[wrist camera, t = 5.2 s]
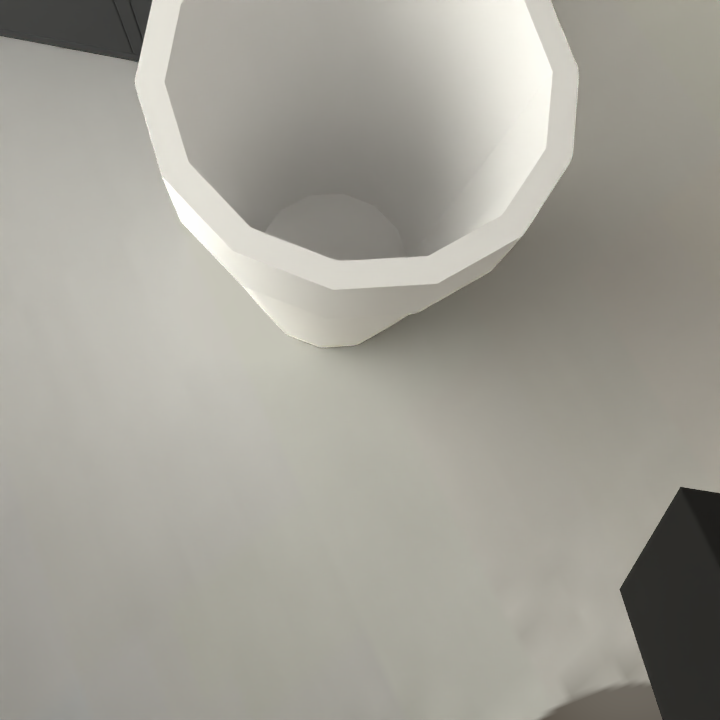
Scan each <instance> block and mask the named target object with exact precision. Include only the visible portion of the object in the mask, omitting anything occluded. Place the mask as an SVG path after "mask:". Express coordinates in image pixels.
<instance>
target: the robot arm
mask: <svg viewBox="0 0 720 720" xmlns="http://www.w3.org/2000/svg"><path fill="white" fill-rule="evenodd" d="M620 592H621V595H622V598H623V601H624V604H625V607H626V610H627V613H628V616H629V619H630V622H631V625H632V628H633V631H634V634H635V637H636V640H637V643H638V646H639V649H640V652H641V655H642V658H643V661H644V665H645V668H646V671H647V674H648V677H649V680H650V683H651V686H652V689H653V692H654V695H655V698H656V701H657V704H658V707H659V710H660V713H661V716H662V719H663V720H720V493H714V492H708V491H702V490H696V489H690V488H683V487H680V489H679V490H678V492H677V494H676V495H675V497H674V499H673V501H672V502H671V504H670V506H669V507H668V509H667V511H666V512H665V514H664V516H663V517H662V519H661V521H660V522H659V524H658V526H657V527H656V529H655V531H654V532H653V534H652V536H651V537H650V539H649V541H648V542H647V544H646V546H645V547H644V549H643V551H642V553H641V554H640V556H639V558H638V559H637V561H636V563H635V564H634V566H633V568H632V569H631V571H630V573H629V574H628V576H627V578H626V579H625V581H624V583H623V584H622V586H621V588H620Z"/></svg>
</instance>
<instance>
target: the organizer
mask: <svg viewBox="0 0 720 720" xmlns="http://www.w3.org/2000/svg"><path fill="white" fill-rule="evenodd" d="M151 5H152V0H0V36H6V37H11V38H16V39H22V40H27V41H32V42H37V43H43V44H48V45H53V46H59V47H64V48H69V49H75V50H80V51H85V52H91V53H96V54H101V55H106V56H112V57H117V58H122V59H128V60H133V61H138V62H139V58H140V54H141V49H142V45H143V40H144V36H145V32H146V27H147V23H148V18H149V14H150V9H151Z"/></svg>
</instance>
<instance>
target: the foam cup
mask: <svg viewBox="0 0 720 720" xmlns="http://www.w3.org/2000/svg"><path fill="white" fill-rule="evenodd" d="M578 82H579V69H578V66H577V64H576V61H575V59H574V56H573V54H572V52H571V49H570V47H569V44H568V42H567V39H566V37H565V34H564V32H563V29H562V27H561V25H560V22H559V20H558V17H557V15H556V12H555V10H554V7H553V5H552V2H551V0H152V5H151V9H150V14H149V18H148V23H147V27H146V32H145V36H144V40H143V45H142V49H141V54H140V58H139V63H138V67H137V72H136V76H135V81H134V84H135V88H136V91H137V94H138V98H139V101H140V105H141V108H142V111H143V115H144V118H145V122H146V125H147V128H148V132H149V135H150V139H151V142H152V145H153V149H154V152H155V156H156V159H157V162H158V166H159V169H160V173H161V176H162V178H163V181H164V183H165V185H166V188H167V190H168V193H169V195H170V197H171V200H172V202H173V204H174V207H175V209H176V212H177V214H178V216H179V219H180V221H181V222H182V223H183V224H184V225H185V226H186V227H187V229H188V230H189V231H190V232H191V233H192V234H193V235H194V236H195V237H196V238H197V239H198V240H199V241H200V242H201V243H202V244H203V245H204V246H205V248H206V249H207V250H208V251H209V252H210V253H211V254H212V255H213V256H214V257H215V258H216V259H217V260H218V261H219V262H220V263H221V264H222V265H223V267H224V268H225V269H226V270H227V271H228V272H229V273H230V274H231V275H232V276H233V277H234V278H235V279H236V280H237V281H238V282H239V283H240V284H241V286H243V287H244V288H245V289H246V290H247V292H248V293H249V294H250V295H251V297H252V298H253V299H254V300H255V302H256V303H257V304H258V305H259V306H260V308H261V309H262V310H263V311H264V312H265V313H266V314H267V315H268V316H269V317H270V318H271V319H272V320H273V321H274V322H275V323H276V324H277V325H278V327H279V328H280V329H281V330H282V331H283V332H284V333H285V334H286V335H288V336H291V337H293V338H296V339H299V340H301V341H304V342H306V343H309V344H312V345H314V346H317V347H319V348H326V347H341V346H355V345H358V344H360V343H362V342H364V341H365V340H367V339H369V338H371V337H373V336H374V335H376V334H378V333H380V332H381V331H383V330H385V329H387V328H388V327H390V326H392V325H393V324H395V323H397V322H398V321H400V320H401V319H403V318H404V317H406V316H407V315H409V314H414V313H419V312H420V311H422V310H424V309H426V308H427V307H429V306H431V305H433V304H435V303H436V302H438V301H440V300H442V299H443V298H445V297H447V296H449V295H450V294H452V293H454V292H456V291H457V290H459V289H461V288H463V287H464V286H466V285H468V284H470V283H471V282H473V281H475V280H477V279H479V278H480V277H482V276H484V275H486V274H487V273H489V272H491V271H492V270H493V269H494V268H495V266H496V265H497V264H498V263H499V262H500V261H501V260H502V259H503V258H504V256H505V255H506V254H507V253H508V252H509V251H510V250H511V249H512V247H513V246H514V245H515V244H516V243H517V242H518V241H519V240H520V238H521V237H522V236H523V235H524V233H525V232H526V230H527V229H528V227H529V226H530V224H531V222H532V221H533V219H534V218H535V216H536V215H537V213H538V212H539V210H540V209H541V207H542V205H543V204H544V202H545V201H546V199H547V198H548V196H549V195H550V193H551V191H552V190H553V188H554V187H555V185H556V184H557V182H558V181H559V179H560V178H561V176H562V174H563V173H564V171H565V170H566V168H567V167H568V165H569V164H570V162H571V160H572V159H573V146H574V133H575V121H576V108H577V95H578Z"/></svg>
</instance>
